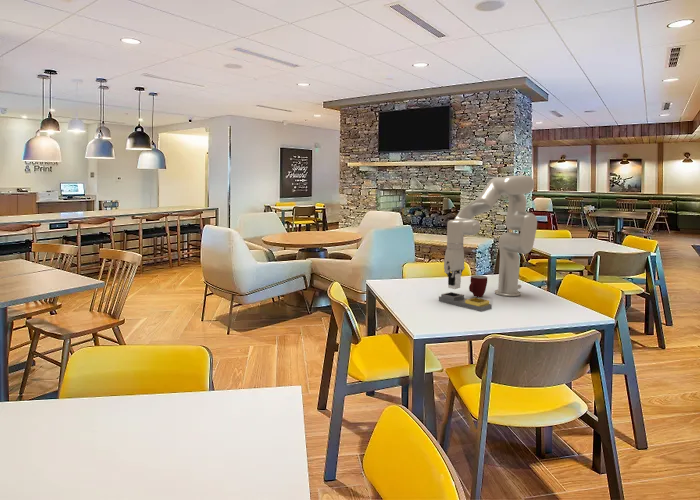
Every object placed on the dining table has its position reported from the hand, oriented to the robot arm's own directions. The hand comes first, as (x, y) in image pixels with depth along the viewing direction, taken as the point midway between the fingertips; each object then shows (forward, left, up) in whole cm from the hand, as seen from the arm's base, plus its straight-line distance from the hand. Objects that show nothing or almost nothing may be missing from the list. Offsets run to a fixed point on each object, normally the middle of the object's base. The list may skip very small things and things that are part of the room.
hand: (454, 284), depth 235 cm
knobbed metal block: (0, 0, -2) cm, 2 cm away
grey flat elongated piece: (+1, +7, -9) cm, 11 cm away
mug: (-17, +1, -9) cm, 19 cm away
